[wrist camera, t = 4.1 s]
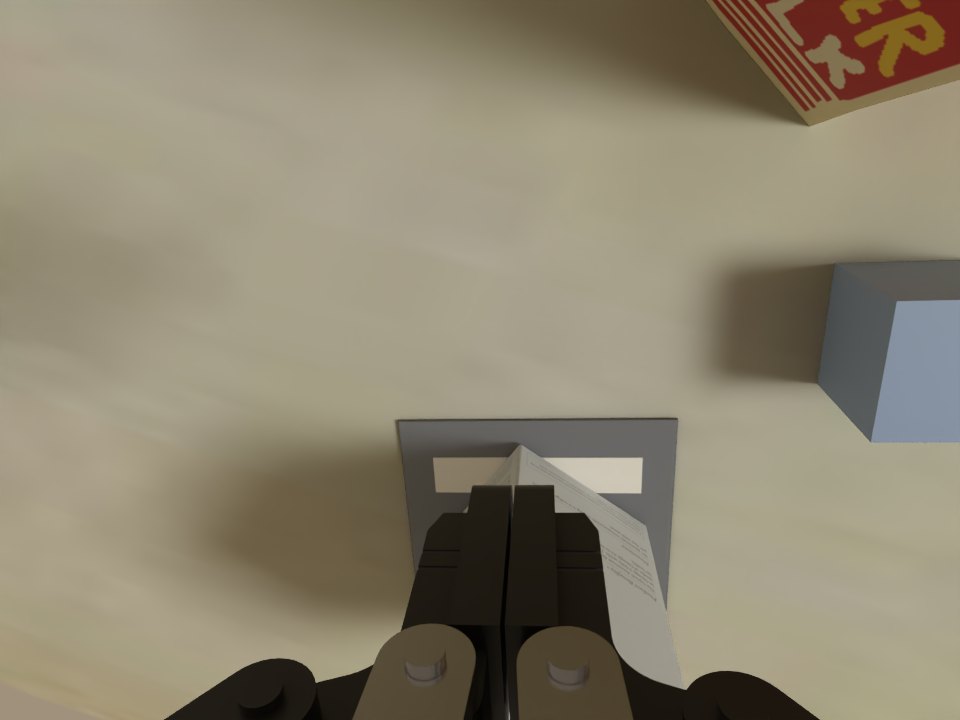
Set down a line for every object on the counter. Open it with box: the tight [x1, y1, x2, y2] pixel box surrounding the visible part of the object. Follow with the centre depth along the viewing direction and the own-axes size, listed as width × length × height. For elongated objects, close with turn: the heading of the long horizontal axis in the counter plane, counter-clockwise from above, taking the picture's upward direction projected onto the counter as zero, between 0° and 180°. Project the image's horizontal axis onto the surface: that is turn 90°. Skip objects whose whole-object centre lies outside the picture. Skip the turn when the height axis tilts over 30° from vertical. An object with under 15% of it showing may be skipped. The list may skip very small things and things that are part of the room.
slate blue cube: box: [817, 260, 960, 442], centre depth 24 cm, size 5×5×5 cm
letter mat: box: [398, 418, 678, 609], centre depth 31 cm, size 12×12×1 cm
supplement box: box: [463, 445, 684, 720], centre depth 26 cm, size 7×7×13 cm
